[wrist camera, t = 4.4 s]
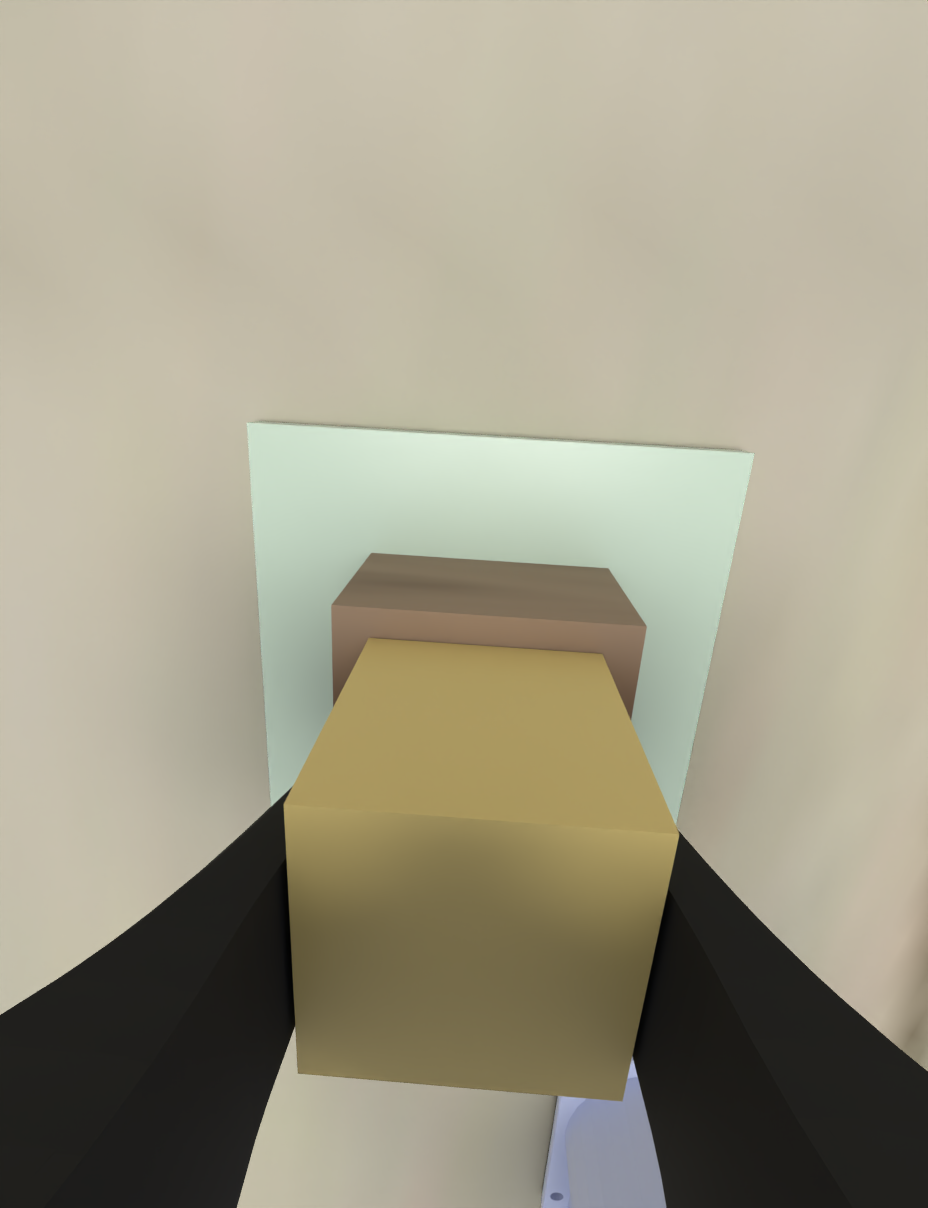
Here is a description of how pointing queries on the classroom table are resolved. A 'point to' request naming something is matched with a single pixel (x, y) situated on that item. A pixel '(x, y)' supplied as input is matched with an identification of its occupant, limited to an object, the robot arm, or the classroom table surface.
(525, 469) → the build plate
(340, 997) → the brick
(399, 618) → the base block
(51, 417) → the classroom table surface
